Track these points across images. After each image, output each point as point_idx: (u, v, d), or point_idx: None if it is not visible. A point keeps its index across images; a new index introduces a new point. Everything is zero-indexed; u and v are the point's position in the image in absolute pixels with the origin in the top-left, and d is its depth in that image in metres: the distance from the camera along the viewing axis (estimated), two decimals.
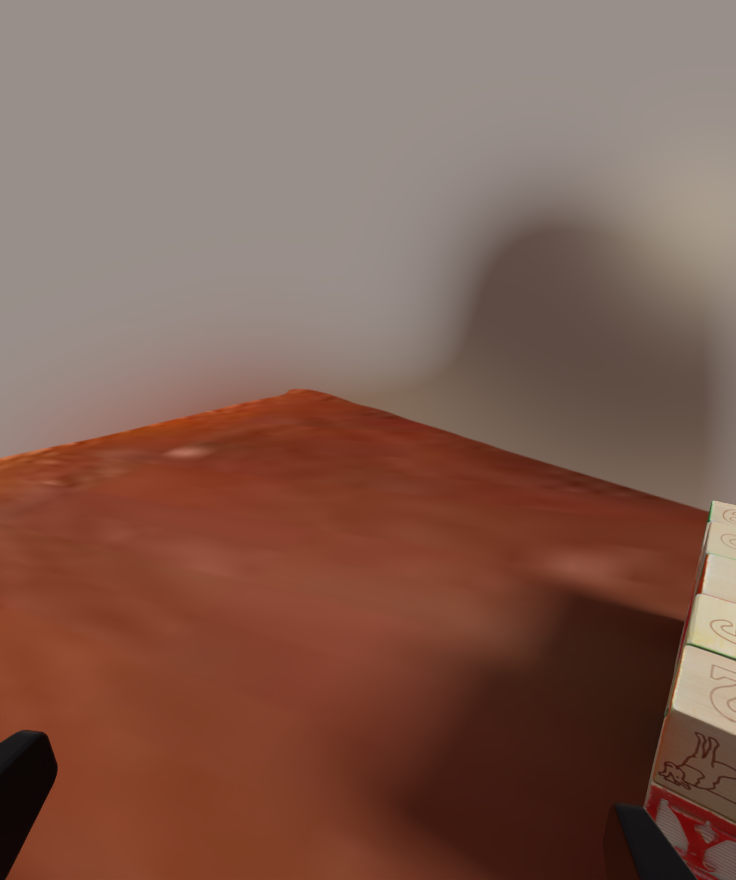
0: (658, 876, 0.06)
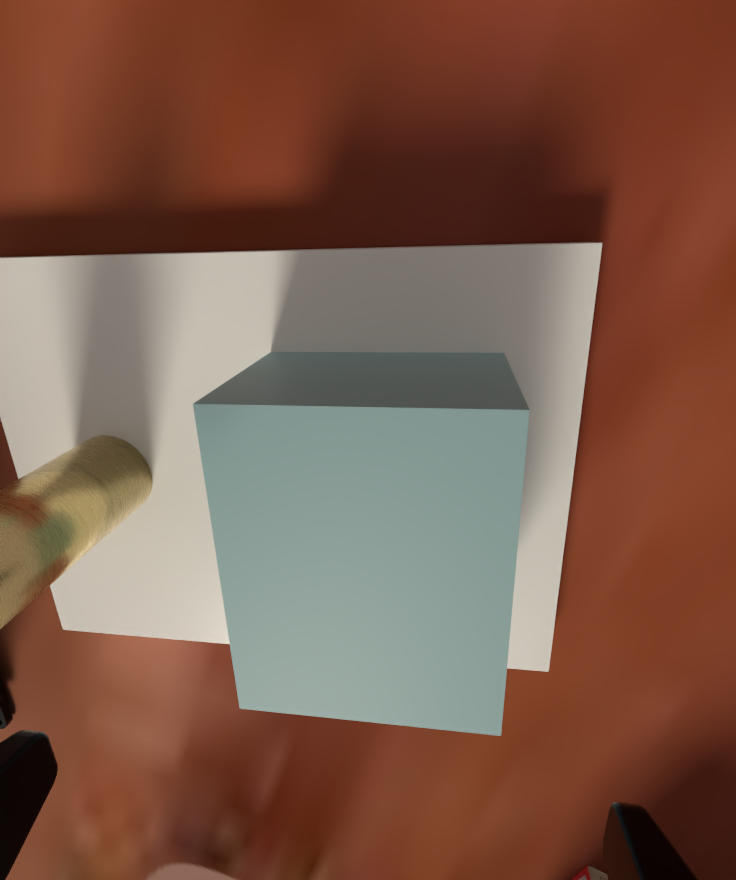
0: (658, 876, 0.06)
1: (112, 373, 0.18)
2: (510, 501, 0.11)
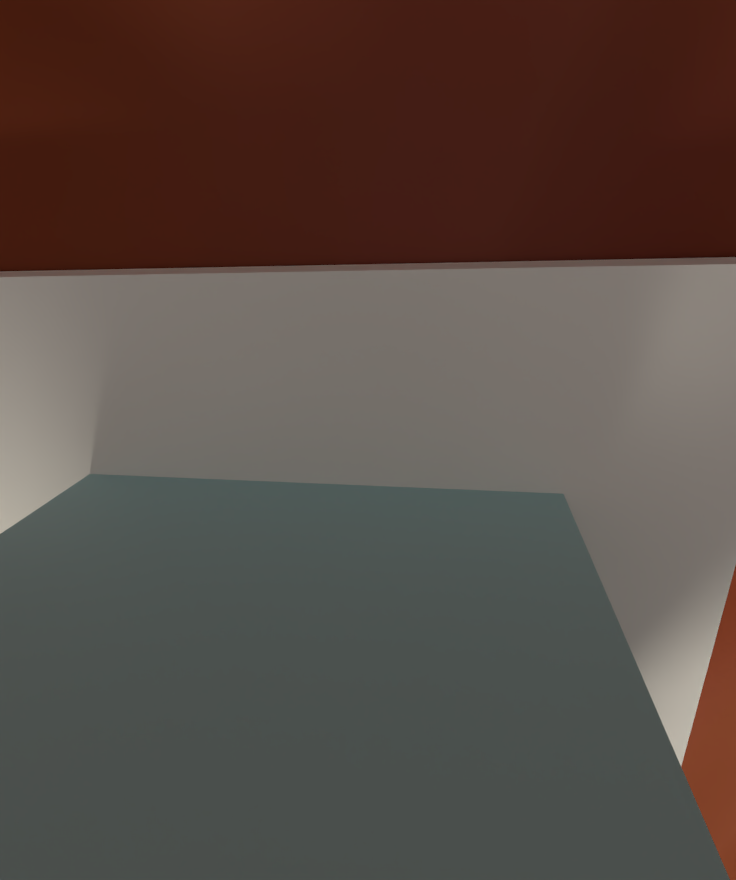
0: None
1: None
2: None
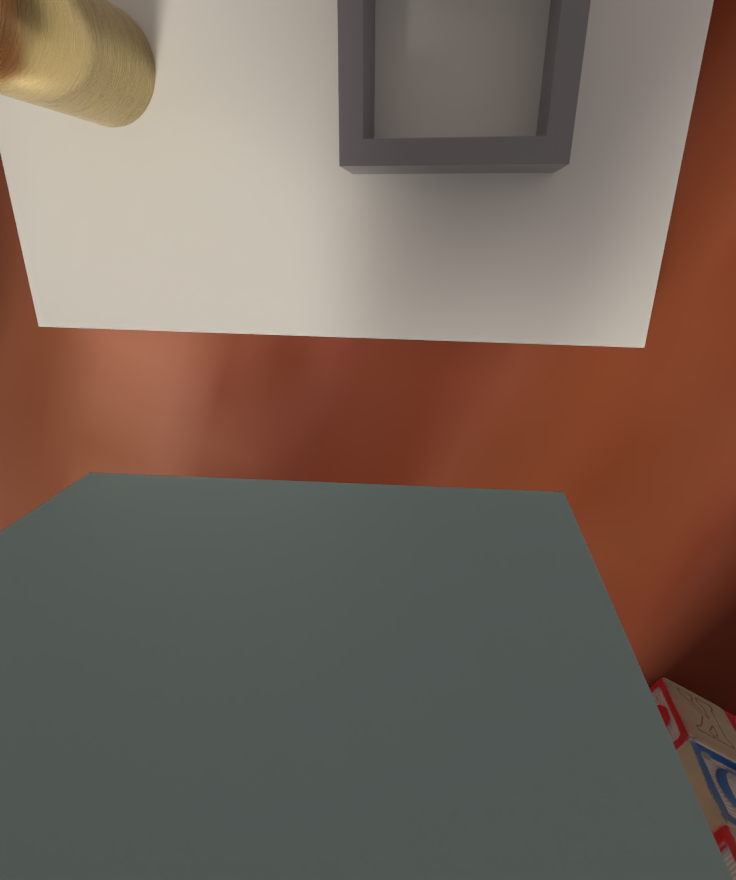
0: None
1: None
2: None
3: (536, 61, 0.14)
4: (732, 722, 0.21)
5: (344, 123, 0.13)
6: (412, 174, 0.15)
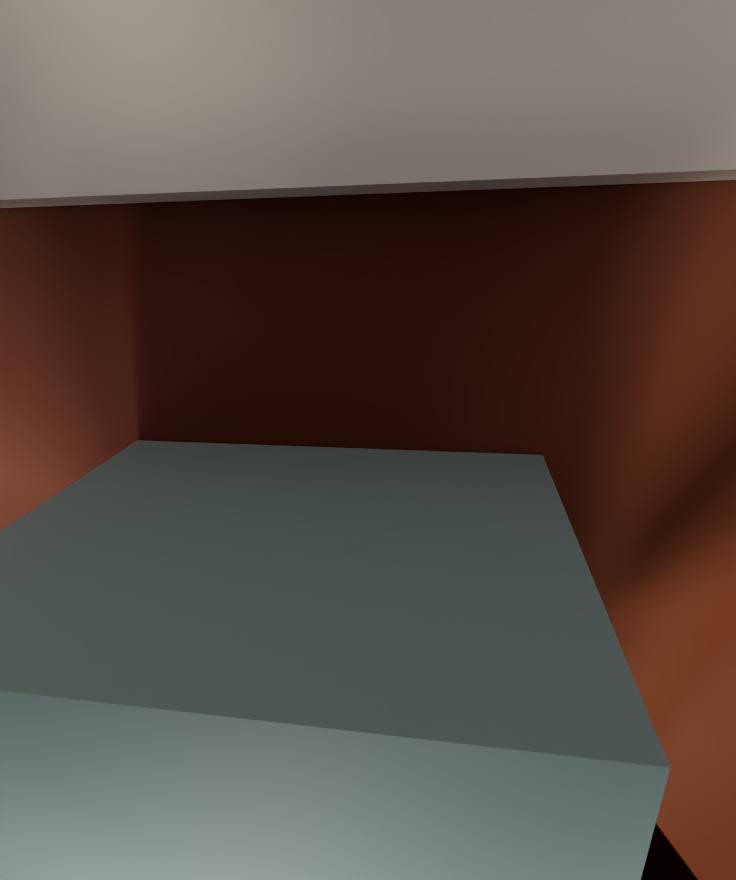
0: (657, 876, 0.06)
1: None
2: None
3: None
4: None
5: None
6: None
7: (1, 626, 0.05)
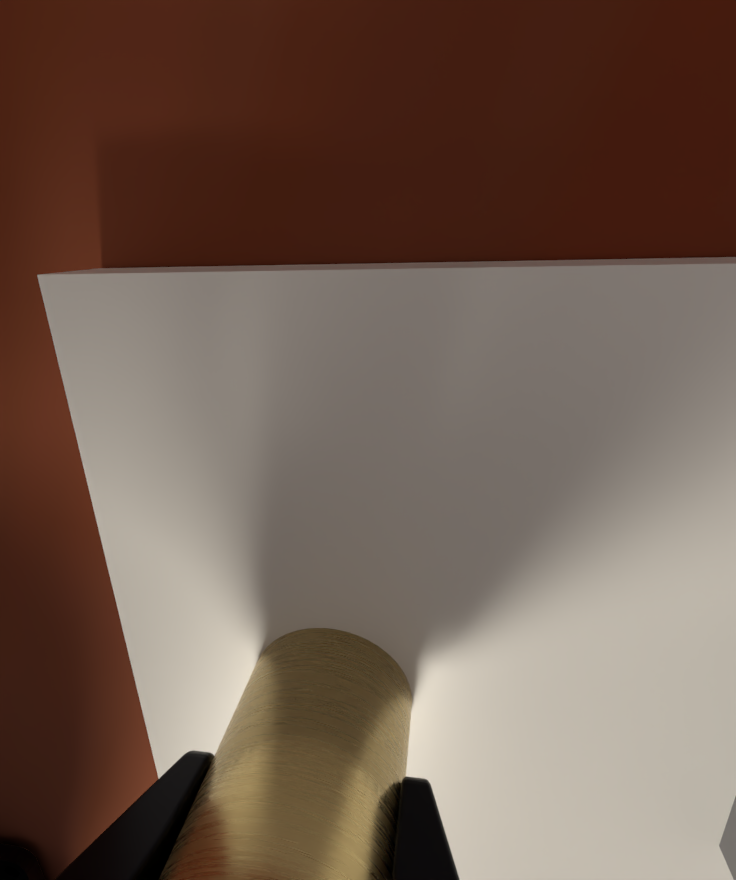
0: (412, 841, 0.07)
1: (368, 518, 0.08)
2: None
3: None
4: None
5: None
6: None
7: None
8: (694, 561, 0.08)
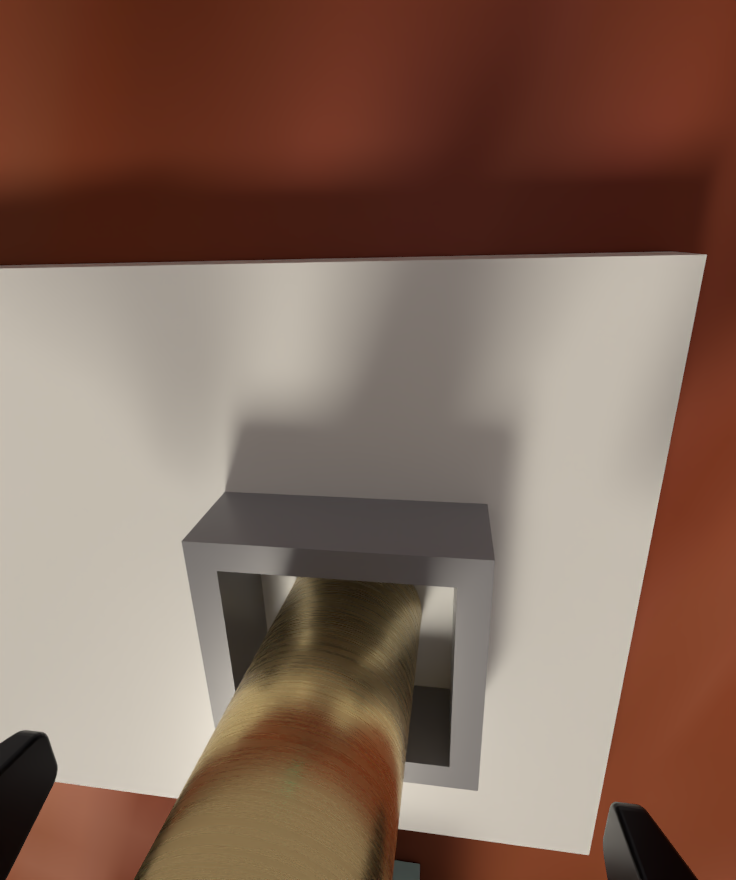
0: (658, 876, 0.06)
1: None
2: None
3: (443, 620, 0.12)
4: None
5: None
6: None
7: None
8: (154, 467, 0.12)
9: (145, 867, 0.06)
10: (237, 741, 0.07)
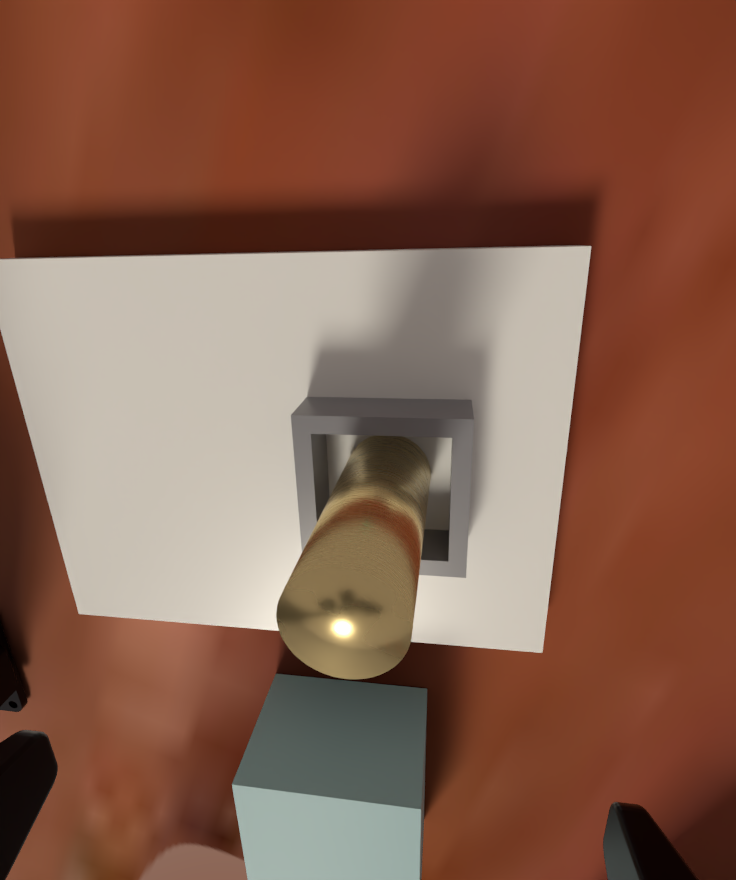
0: (658, 876, 0.06)
1: (130, 368, 0.19)
2: (414, 846, 0.20)
3: (444, 481, 0.19)
4: None
5: (305, 544, 0.18)
6: None
7: (273, 771, 0.21)
8: (262, 381, 0.18)
9: (308, 544, 0.13)
10: (341, 504, 0.14)
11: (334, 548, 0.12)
